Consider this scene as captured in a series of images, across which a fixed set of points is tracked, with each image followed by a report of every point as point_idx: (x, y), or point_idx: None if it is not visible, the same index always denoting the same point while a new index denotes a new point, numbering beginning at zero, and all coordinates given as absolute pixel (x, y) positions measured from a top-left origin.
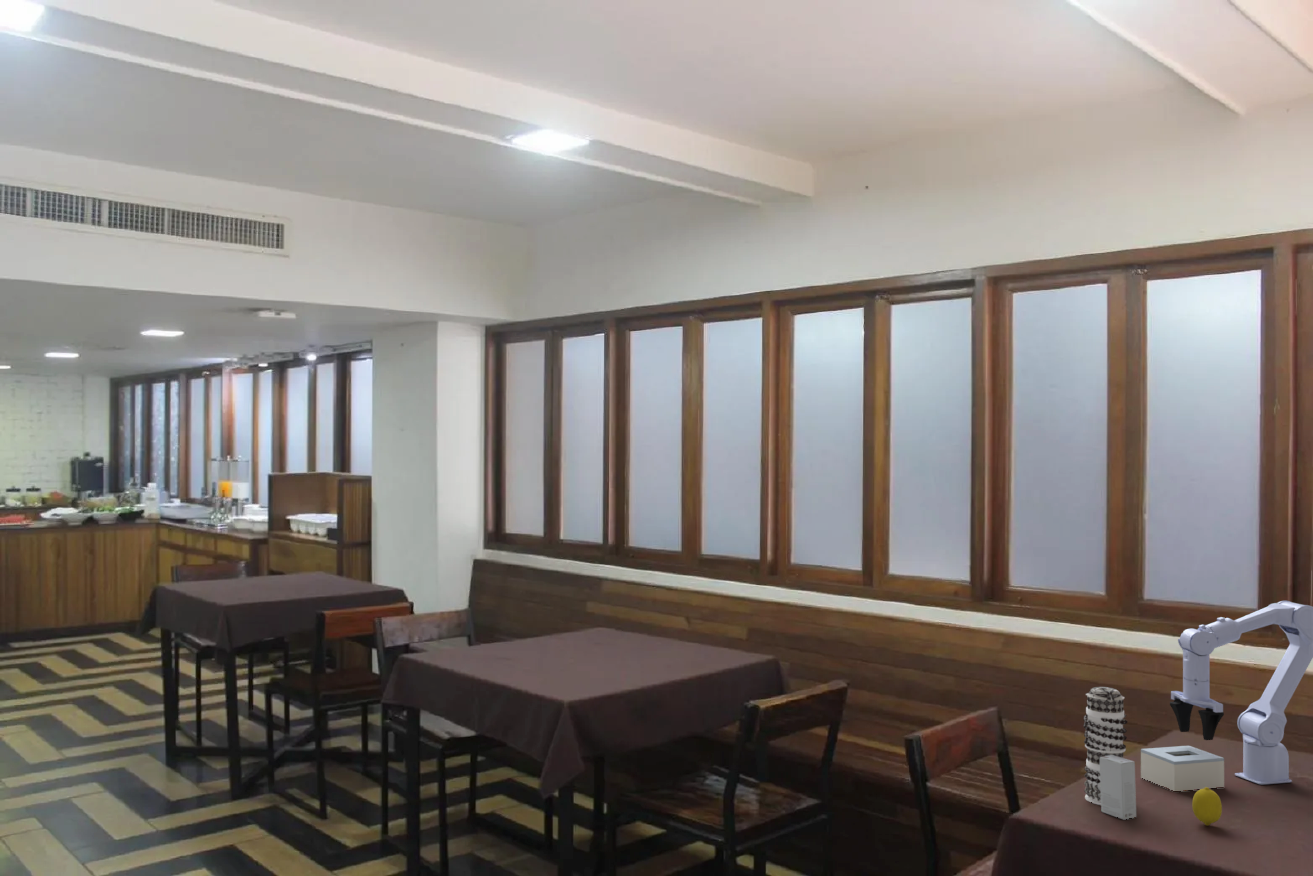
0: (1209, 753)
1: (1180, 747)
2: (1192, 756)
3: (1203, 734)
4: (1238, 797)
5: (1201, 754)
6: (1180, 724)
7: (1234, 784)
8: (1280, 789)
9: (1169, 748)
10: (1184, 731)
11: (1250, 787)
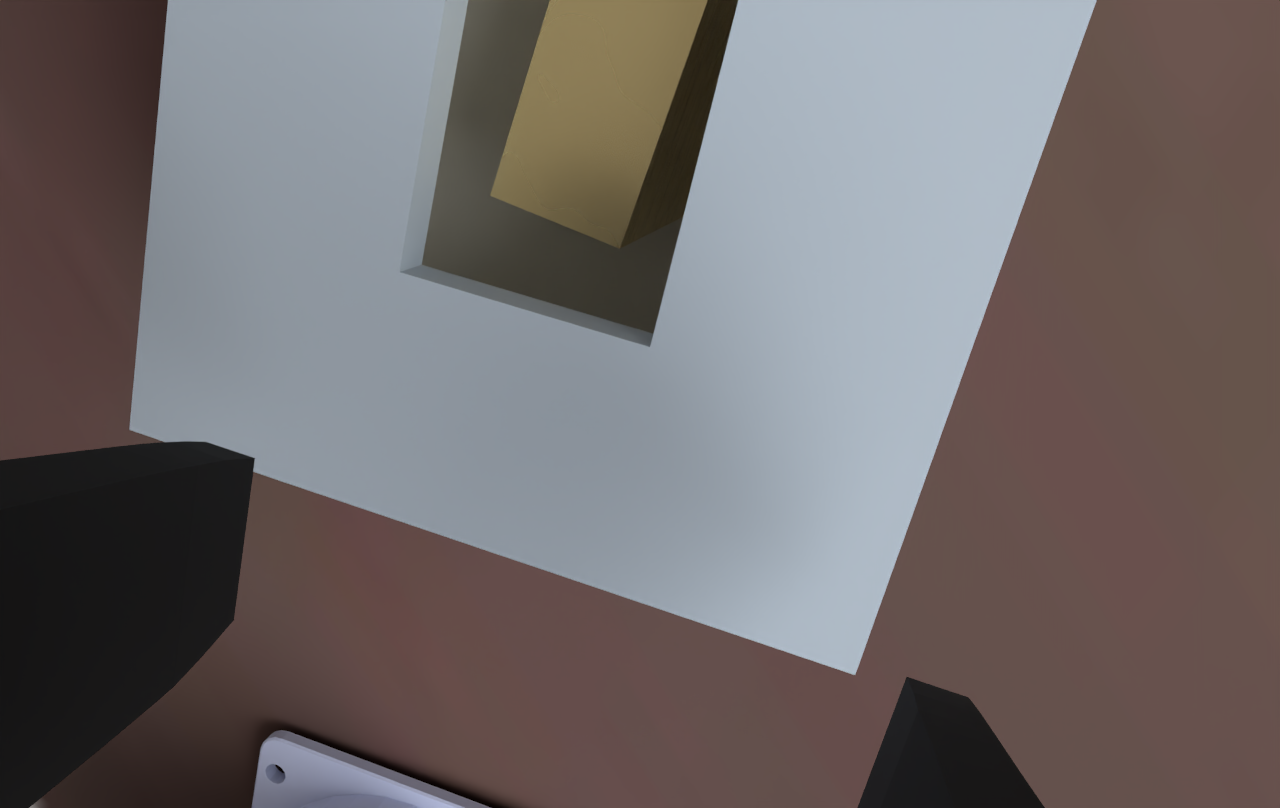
0: (380, 487)
1: (857, 419)
2: (363, 20)
3: (160, 464)
4: (100, 154)
5: (387, 304)
6: (932, 759)
7: (401, 559)
8: (149, 754)
9: (933, 147)
10: (883, 747)
11: (278, 593)
